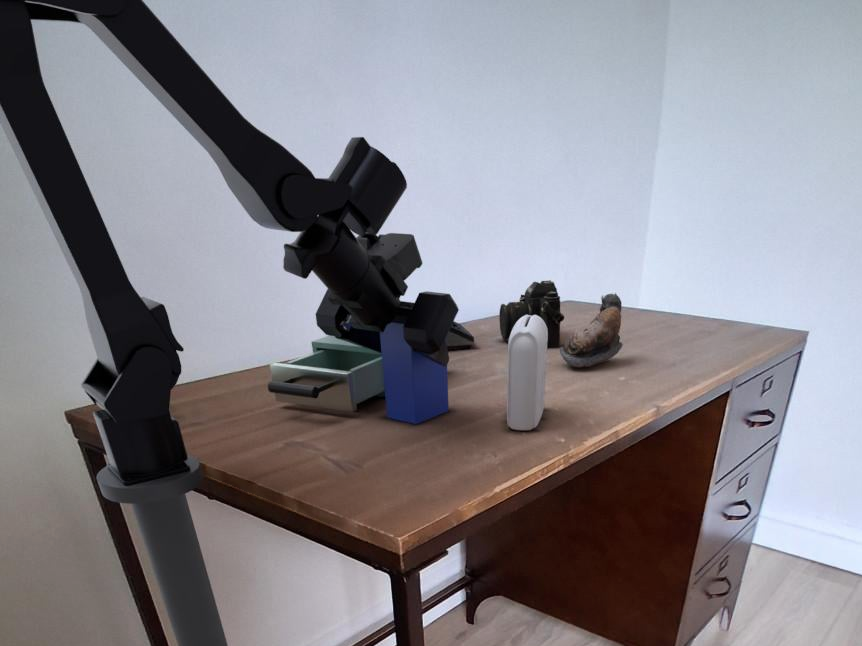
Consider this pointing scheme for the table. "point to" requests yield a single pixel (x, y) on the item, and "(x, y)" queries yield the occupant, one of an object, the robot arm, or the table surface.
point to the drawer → (328, 379)
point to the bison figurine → (596, 336)
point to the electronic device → (458, 337)
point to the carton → (411, 380)
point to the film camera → (535, 310)
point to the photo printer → (526, 372)
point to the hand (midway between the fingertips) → (418, 358)
